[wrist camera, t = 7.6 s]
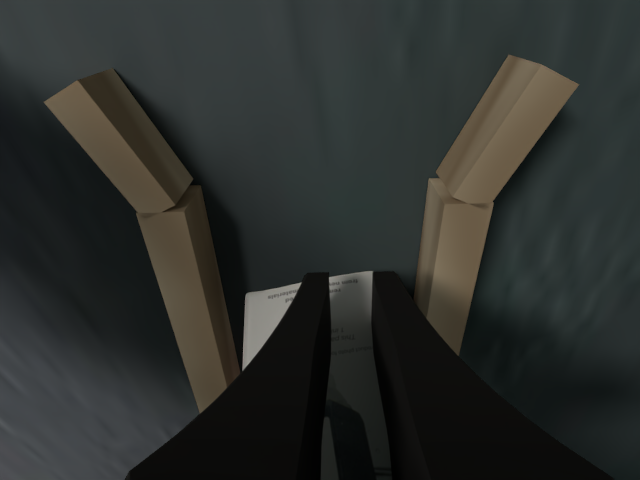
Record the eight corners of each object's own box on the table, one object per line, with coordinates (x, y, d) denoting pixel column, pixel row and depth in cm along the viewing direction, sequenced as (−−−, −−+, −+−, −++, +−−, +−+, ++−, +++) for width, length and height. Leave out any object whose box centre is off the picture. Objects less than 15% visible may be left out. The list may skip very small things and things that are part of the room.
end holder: (207, 458, 23) (199, 495, 21) (76, 69, 12) (35, 81, 10) (444, 454, 23) (454, 491, 21) (545, 53, 11) (585, 63, 10)
